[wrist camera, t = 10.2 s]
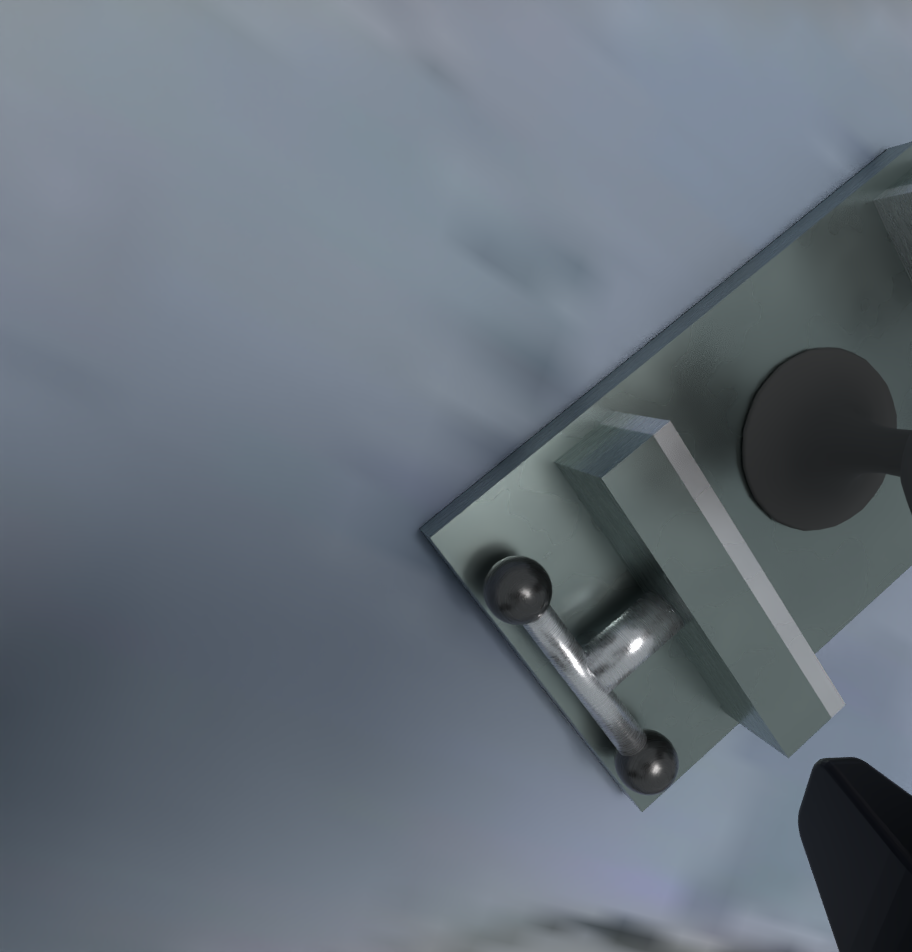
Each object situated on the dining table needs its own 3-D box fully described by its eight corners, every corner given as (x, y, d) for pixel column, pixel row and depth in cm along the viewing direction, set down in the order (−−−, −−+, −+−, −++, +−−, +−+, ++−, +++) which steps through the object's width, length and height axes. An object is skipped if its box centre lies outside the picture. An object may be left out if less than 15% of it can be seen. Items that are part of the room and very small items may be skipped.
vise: (623, 792, 23) (718, 894, 19) (419, 528, 20) (477, 578, 16) (1018, 434, 25) (1183, 453, 21) (888, 148, 22) (1049, 102, 18)
